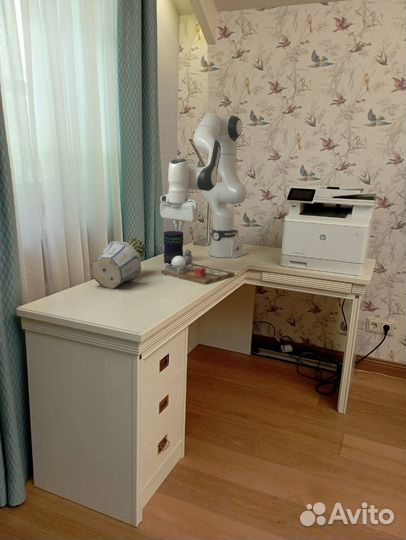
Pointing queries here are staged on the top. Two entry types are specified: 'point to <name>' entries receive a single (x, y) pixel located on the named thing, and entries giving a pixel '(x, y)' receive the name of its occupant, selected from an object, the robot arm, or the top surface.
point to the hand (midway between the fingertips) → (179, 230)
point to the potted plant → (118, 263)
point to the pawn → (188, 257)
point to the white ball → (178, 262)
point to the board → (201, 279)
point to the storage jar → (172, 245)
